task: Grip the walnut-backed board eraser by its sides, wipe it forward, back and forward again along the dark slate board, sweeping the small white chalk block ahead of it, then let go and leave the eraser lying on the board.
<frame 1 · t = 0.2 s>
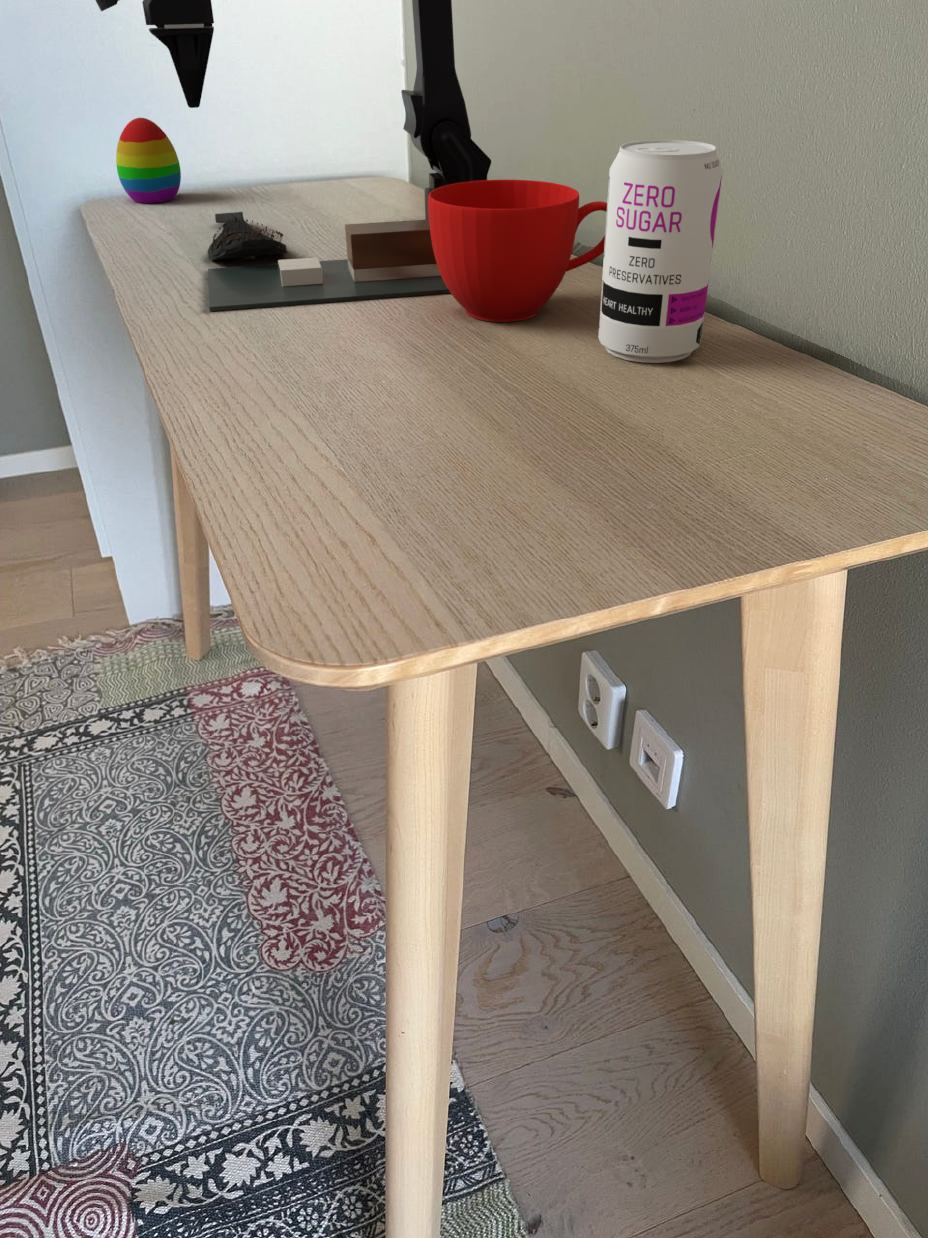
hand: (194, 102, 102), 15 cm above the table, tool pointing down, fingers open, 9 cm apart
eraser: (400, 272, 98), resting on slate board
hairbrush: (240, 247, 111), on the table
decorative egg: (154, 200, 133), on the table
white soda can: (648, 350, 80), on the table
ceramic cup: (523, 311, 89), on the table
chalk: (301, 279, 97), resting on slate board
slate board: (331, 281, 97), on the table
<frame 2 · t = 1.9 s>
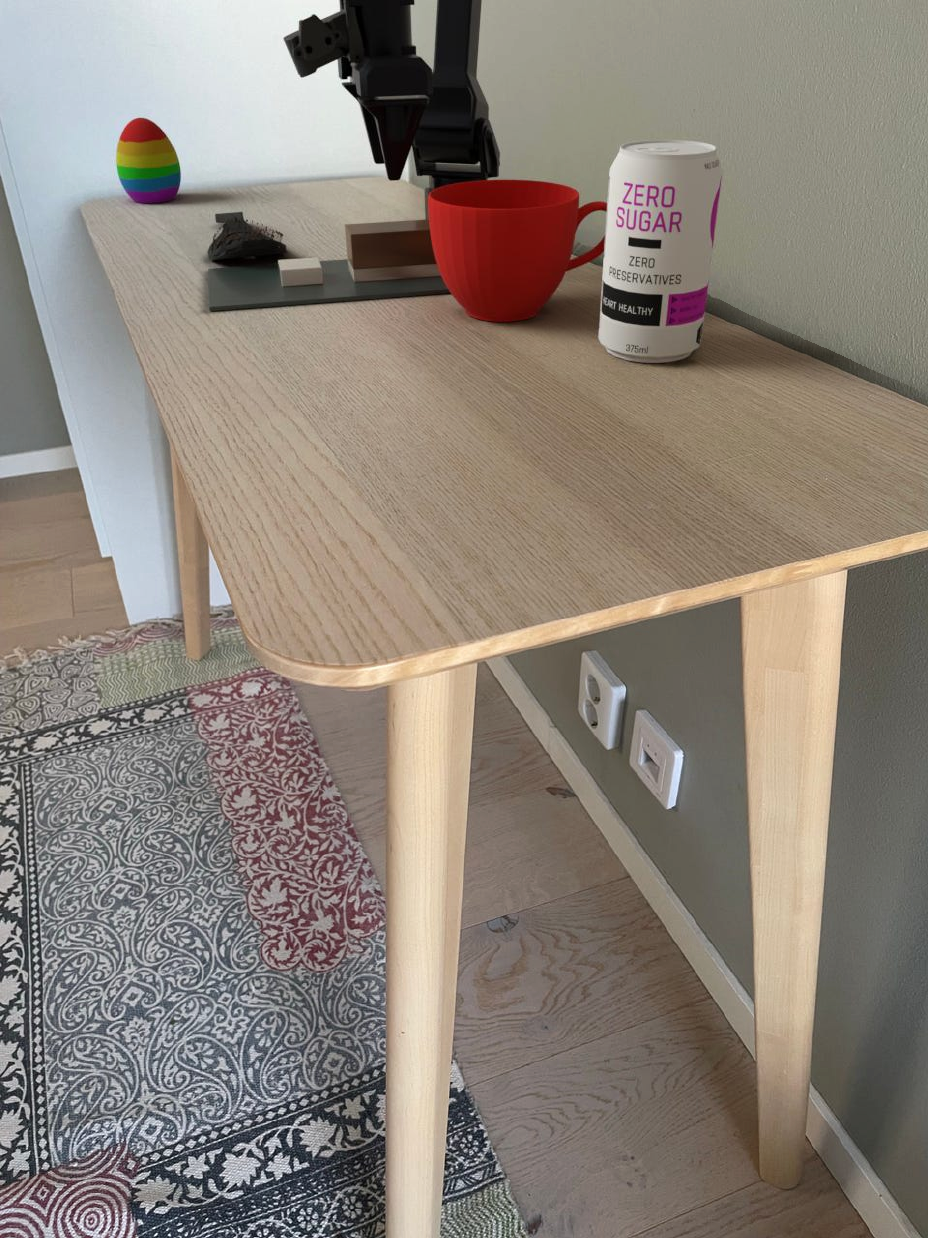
hand: (386, 171, 94), 10 cm above the table, tool pointing down, fingers open, 9 cm apart
nothing on the table moved.
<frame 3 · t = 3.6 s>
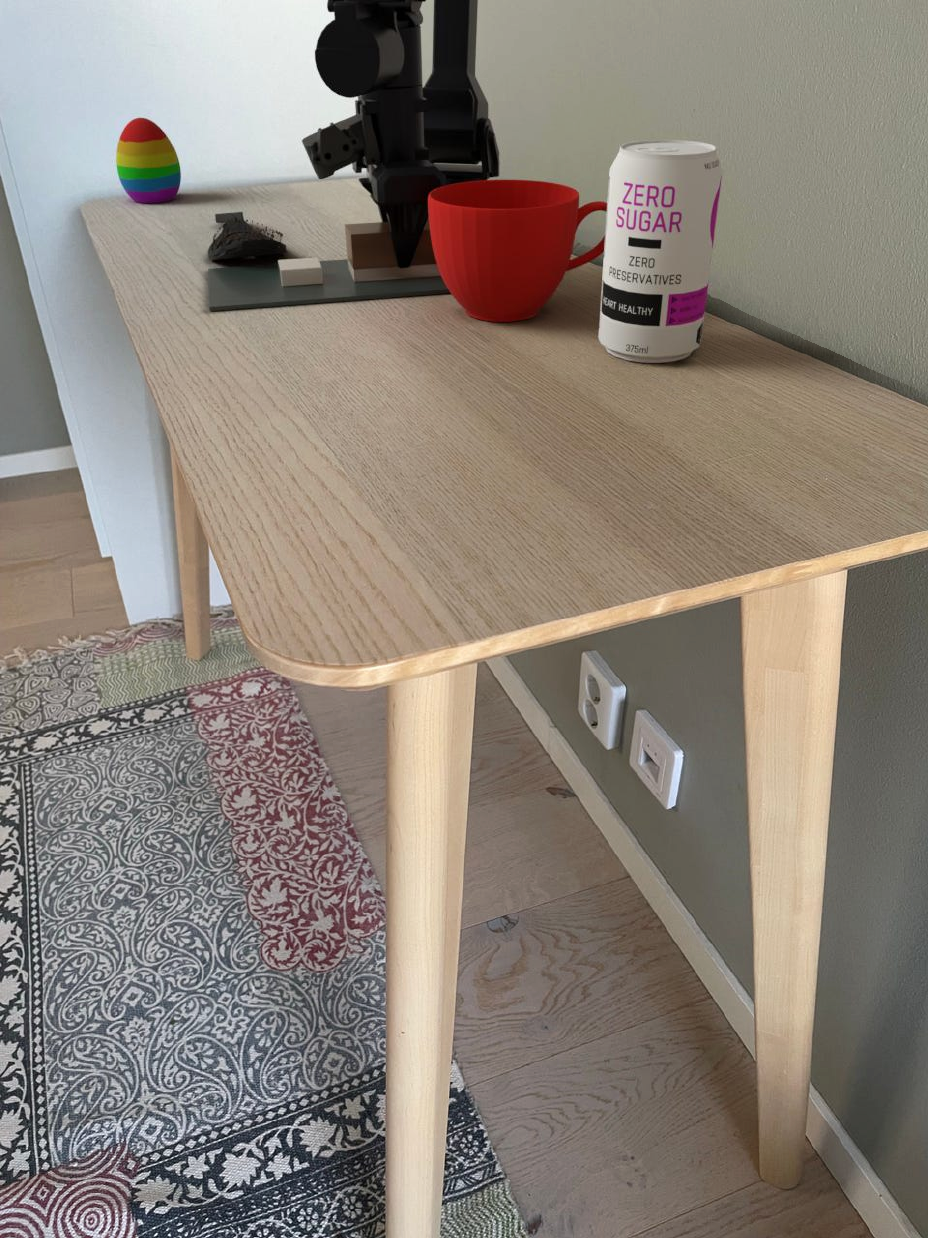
hand: (399, 261, 98), 2 cm above the table, tool pointing down, fingers closed on eraser, 4 cm apart
eraser: (400, 272, 98), resting on slate board, touching gripper
everything else where it was.
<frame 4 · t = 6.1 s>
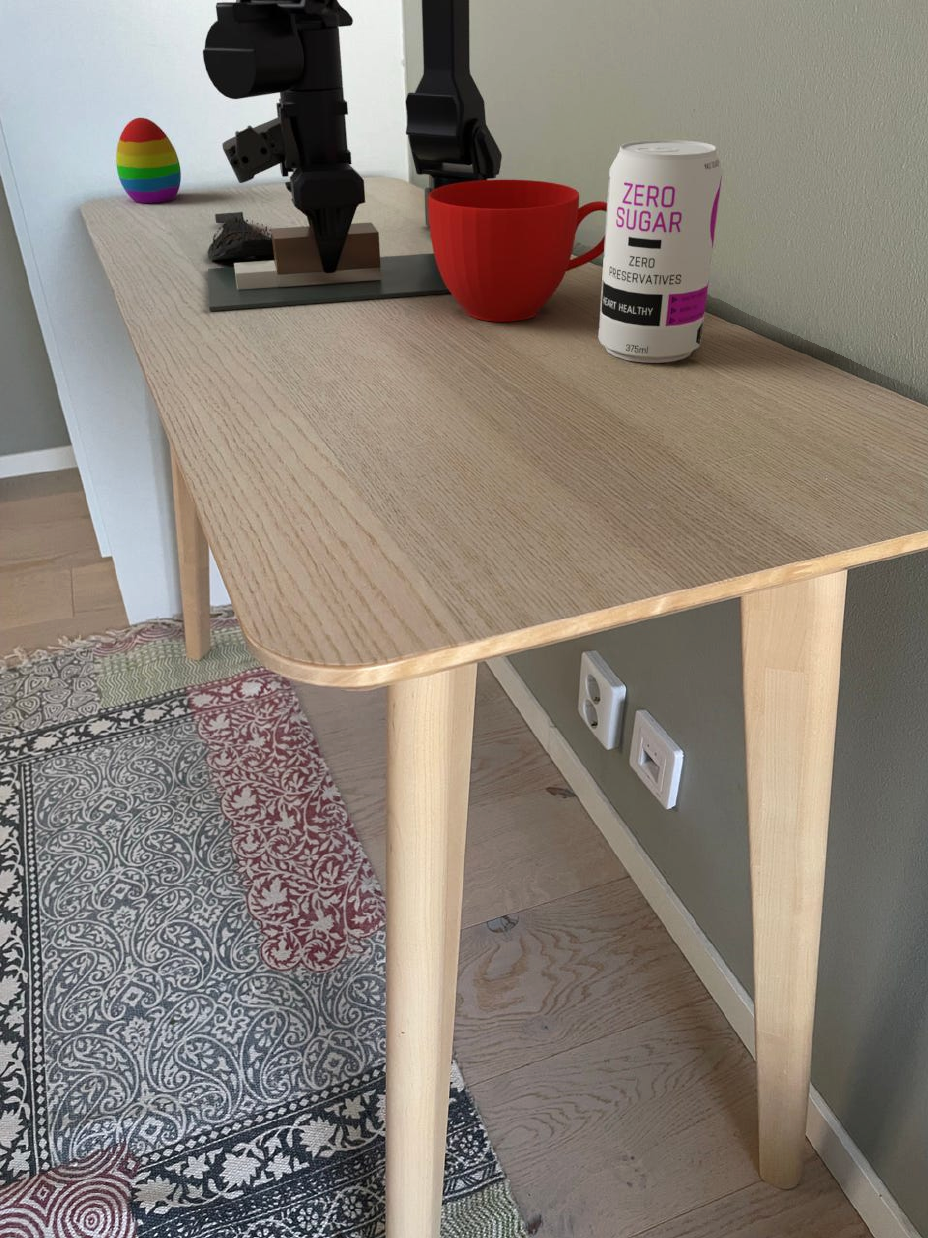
hand: (327, 266, 96), 2 cm above the table, tool pointing down, fingers closed on eraser, 4 cm apart
eraser: (328, 277, 97), resting on slate board, touching gripper
chalk: (257, 283, 96), resting on slate board
everything else where it was.
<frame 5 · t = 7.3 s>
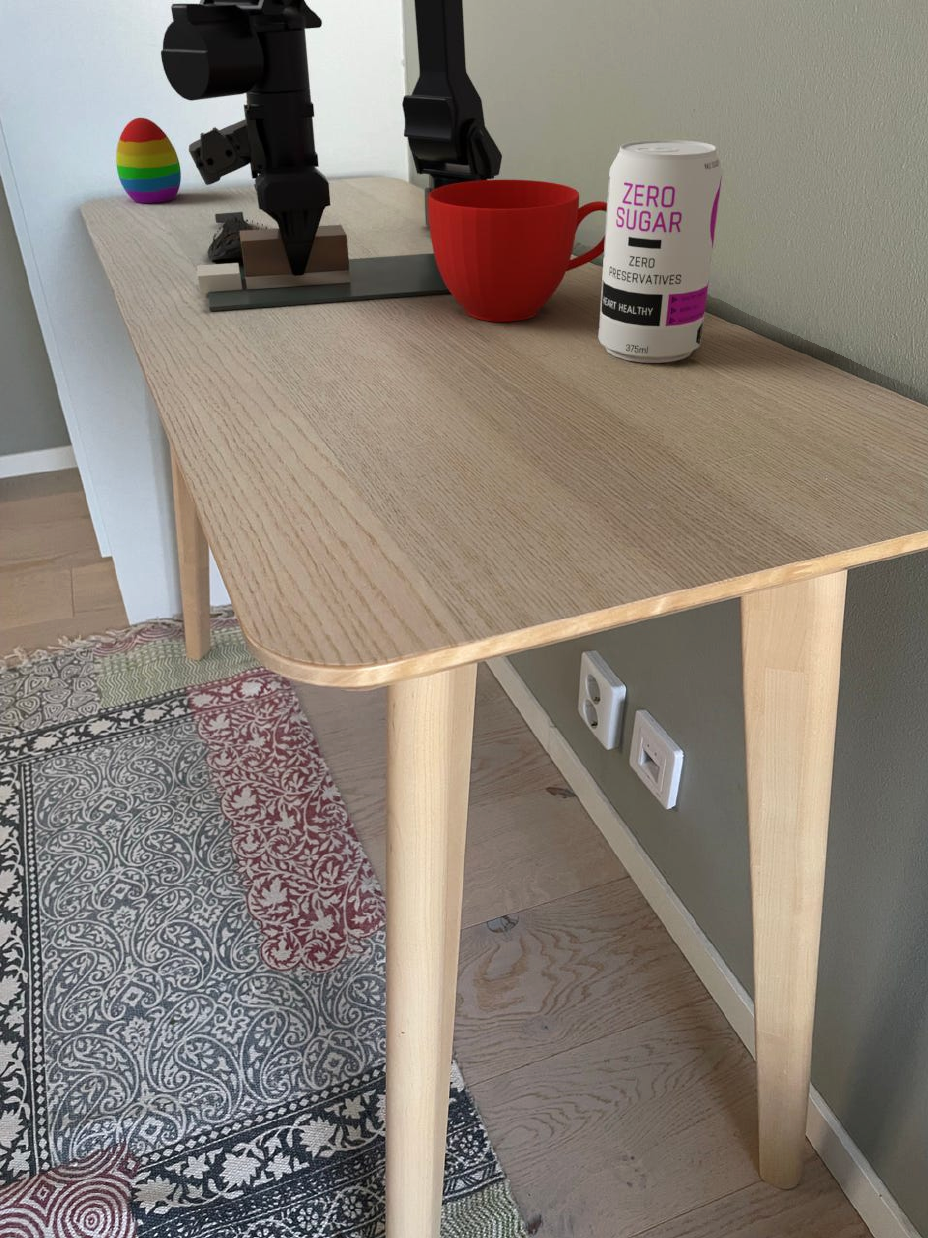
hand: (296, 268, 96), 2 cm above the table, tool pointing down, fingers closed on eraser, 4 cm apart
eraser: (297, 280, 97), resting on slate board, touching gripper
chalk: (220, 285, 95), resting on slate board
everything else where it was.
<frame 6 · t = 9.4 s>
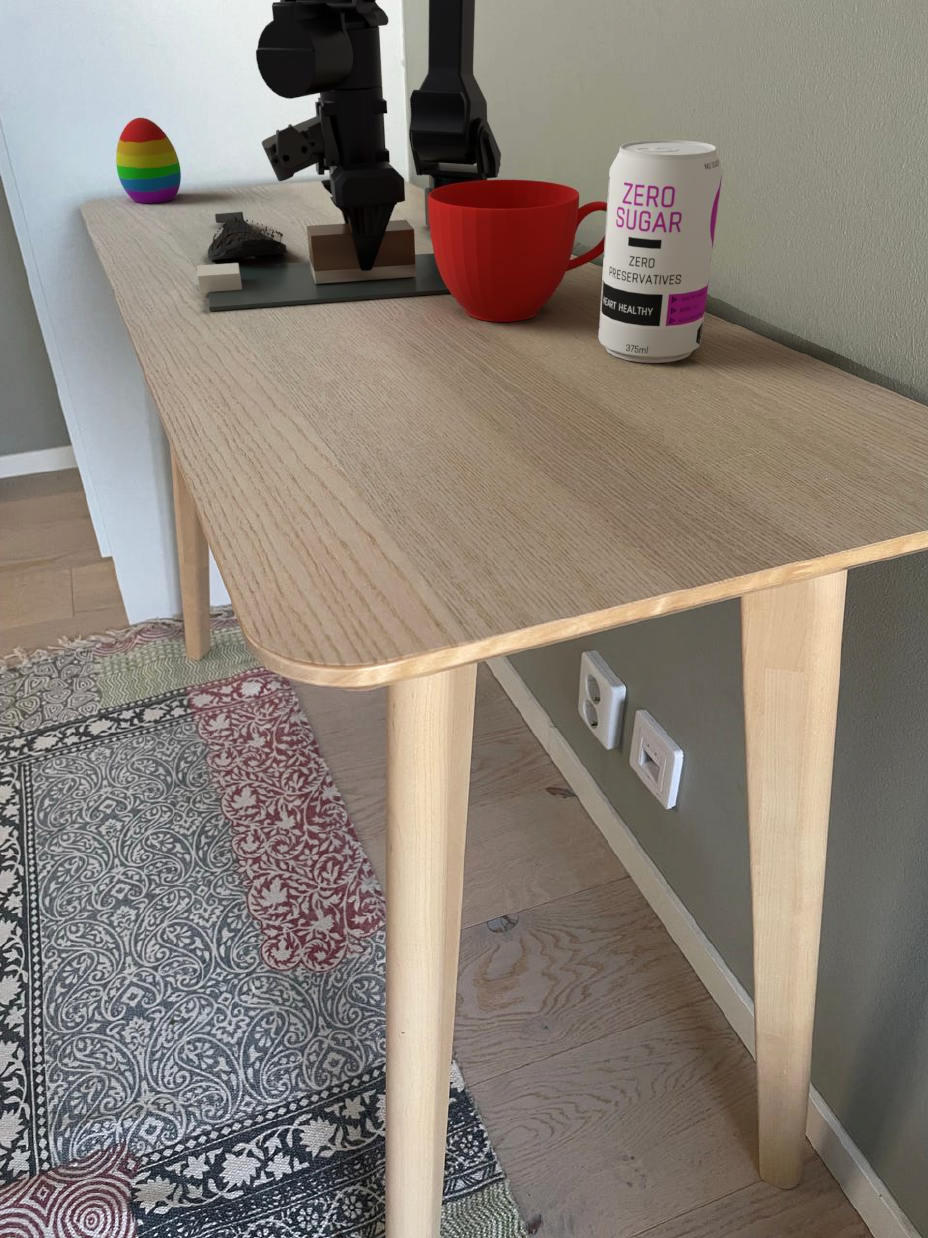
hand: (362, 263, 97), 2 cm above the table, tool pointing down, fingers closed on eraser, 4 cm apart
eraser: (363, 274, 98), point 1 cm above the table, touching gripper
everything else where it was.
when the fingers open (1 cm above the table, at t = 11.2 s): eraser stays where it is, resting on slate board.
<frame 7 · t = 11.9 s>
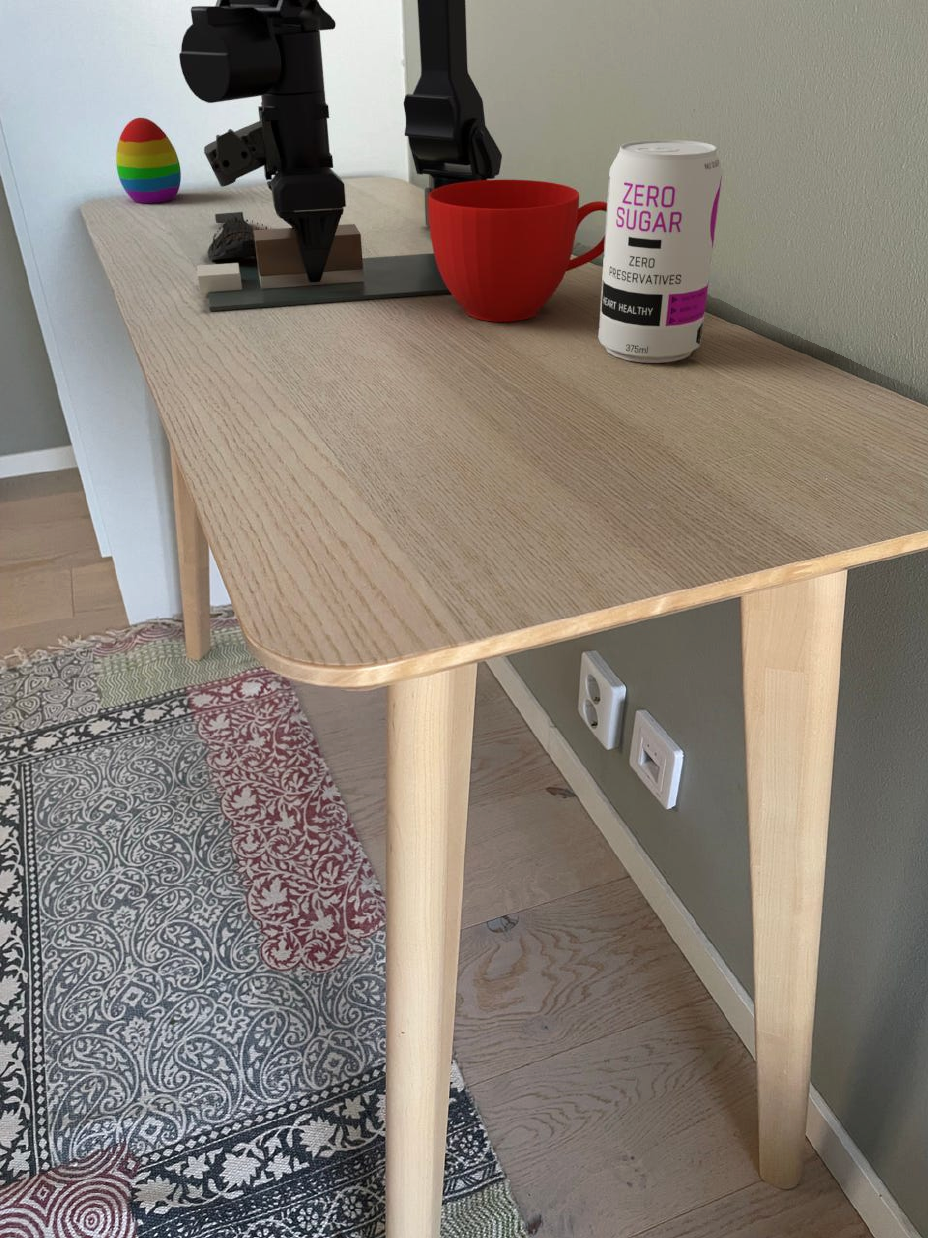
hand: (310, 269, 96), 1 cm above the table, tool pointing down, fingers open, 9 cm apart
eraser: (311, 279, 97), resting on slate board
everything else where it was.
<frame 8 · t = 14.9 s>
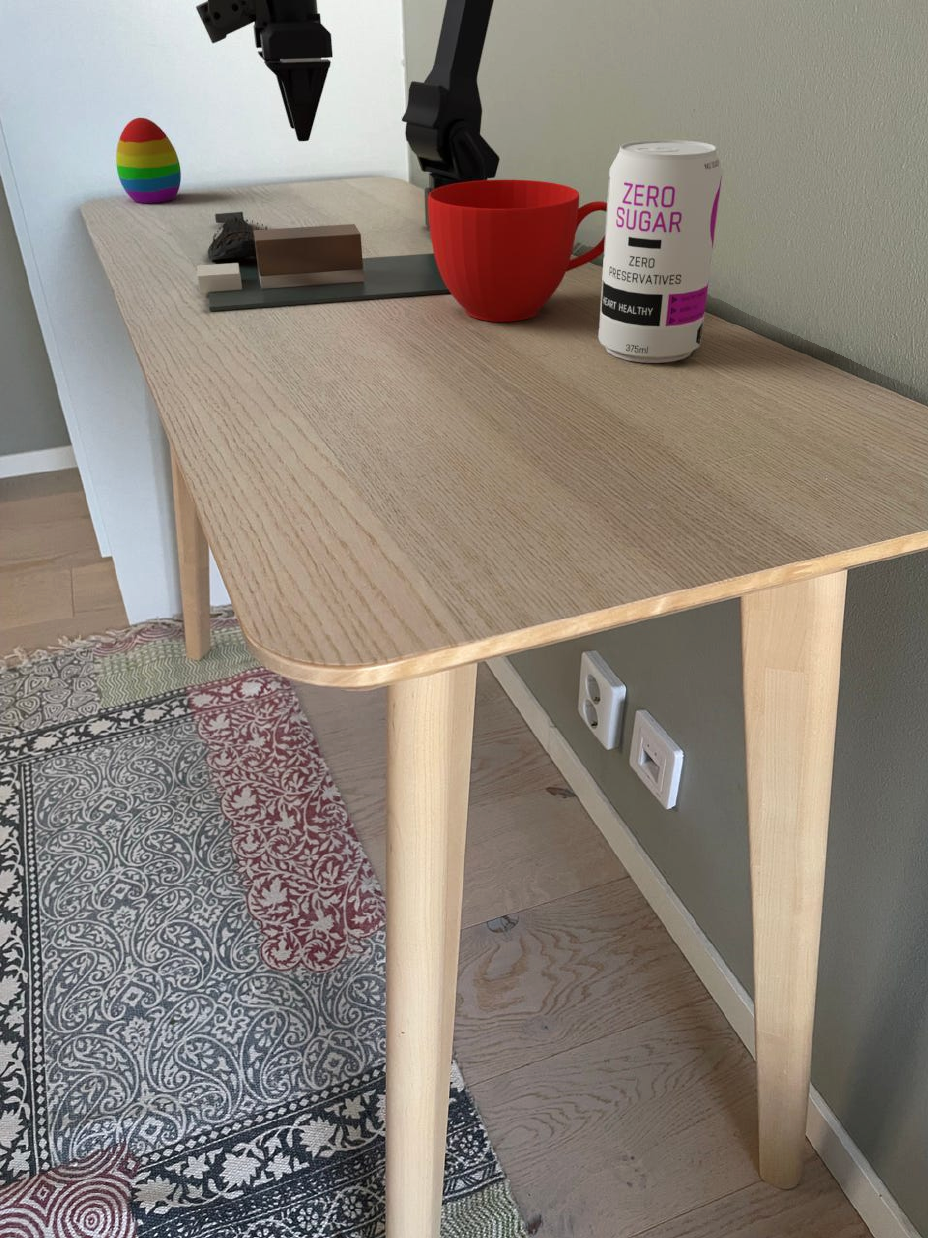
hand: (299, 134, 99), 12 cm above the table, tool pointing down, fingers open, 9 cm apart
nothing on the table moved.
at the end: eraser inside the target area on the slate board (2.0 cm from its centre), point 0.4 cm above the slate board's base; eraser tilted 0°; chalk moved 7.8 cm from its start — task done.
